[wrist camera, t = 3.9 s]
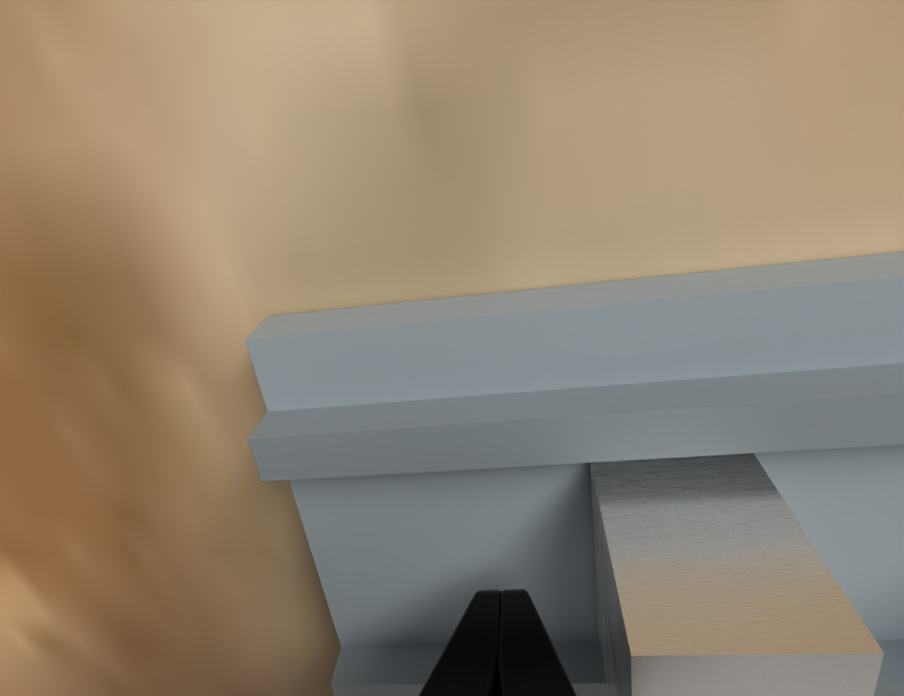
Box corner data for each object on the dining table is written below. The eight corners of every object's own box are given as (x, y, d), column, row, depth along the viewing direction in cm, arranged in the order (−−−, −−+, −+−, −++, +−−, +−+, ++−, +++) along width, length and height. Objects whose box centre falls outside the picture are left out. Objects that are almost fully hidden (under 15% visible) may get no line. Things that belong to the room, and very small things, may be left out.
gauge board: (1414, 199, 8) (2461, 336, 4) (1113, 759, 12) (1407, 1088, 8) (269, 315, 10) (98, 481, 6) (394, 750, 15) (350, 1006, 11)
